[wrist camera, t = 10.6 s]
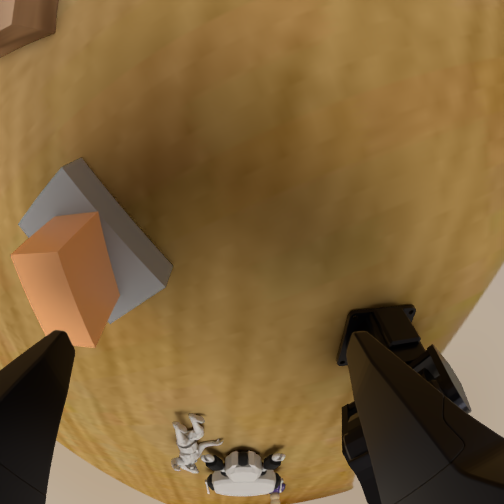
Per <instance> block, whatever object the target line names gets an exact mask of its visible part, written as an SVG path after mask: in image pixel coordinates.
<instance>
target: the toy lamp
mask: <svg viewBox="0 0 504 504" xmlns="http://www.w3.org/2000/svg"><path fill="white" fill-rule="evenodd" d="M284 489H285V484H283V483H282V488H281V492H282V491H283V490H284ZM279 490H280V485H279V486H278V488H277V489H274V491H273V492H271V493H269V494H271V495H270V498H271V504H280V501H279V498H280V496H279V493H280V491H279Z"/></svg>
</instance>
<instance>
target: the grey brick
mask: <svg viewBox="0 0 504 504" xmlns="http://www.w3.org/2000/svg"><path fill="white" fill-rule="evenodd" d="M89 212H98V213H99V217H100V222H101V226H102V231H103V235H104V239H105V243H106V247H107V251H108V255H109V259H110V262H111V266H112V270H113V273H114V277H115V280H116V283H117V287H118V290H119V293H120V296H119V298H118V301H117V303H116V305H115V307H114V309H113V311H112V313H111V315H110V317H109V319H108V322H109V323H110V324H111V323H112V322H114V321H115V320H117V319H118V318H120V317H121V316H123V315H124V314H126V313H127V312H129V311H130V310H132V309H133V308H135V307H136V306H138V305H139V304H141V303H142V302H144V301H145V300H147V299H148V298H150V297H151V296H153V295H155V294H156V293H158V292H159V291H161V290H162V289H164V288H165V287H166V285H167V282H168V279H169V276H170V273H171V270H172V268H173V265H172V264H171V263H170V262H169V261H168V260H167V259H166V258H165V257H164V255H163V254H162V253H161V252H160V251H159V250H158V249H157V248H156V247H155V245H154V244H153V243H152V242H151V241H150V240H149V239H148V238H147V236H146V235H145V234H144V233H143V232H142V231H141V229H140V228H139V227H138V226H137V225H136V224H135V223H134V221H133V220H132V219H131V218H130V217H129V216H128V214H127V213H126V212H125V211H124V210H123V208H122V207H121V206H120V205H119V204H118V202H117V201H116V200H115V199H114V198H113V196H112V195H111V194H110V193H109V192H108V190H107V189H106V188H105V187H104V185H103V184H102V183H101V182H100V180H99V179H98V178H97V177H96V176H95V174H94V173H93V172H92V170H91V169H90V168H89V167H88V165H87V164H86V163H85V162H84V160H83V159H82V158H79V159H77V160H75V161H73V162H71V163H69V164H67V165H65V166H63V167H61V168H60V170H59V171H58V172H57V173H56V174H55V176H54V177H53V178H52V179H51V181H50V182H49V183H48V184H47V186H46V187H45V188H44V189H43V191H42V192H41V193H40V195H39V196H38V197H37V199H36V200H35V201H34V203H33V204H32V205H31V207H30V208H29V210H28V211H27V212H26V214H25V215H24V217H23V218H22V219H21V221H20V222H19V224H18V225H19V226H20V227H21V229H22V230H23V231H24V232H25V234H26V235H27V236H28V237H29V238H30V237H31V236H32V235H33V234H34V233H35V232H36V231H38V230H39V229H40V228H41V227H42V226H44V225H45V224H46V223H47V222H48V221H50V220H51V219H52V218H53V217H55V216H62V215H71V214H79V213H89Z"/></svg>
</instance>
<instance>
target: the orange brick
mask: <svg viewBox="0 0 504 504" xmlns="http://www.w3.org/2000/svg"><path fill="white" fill-rule="evenodd" d="M11 258H12V261H13V263H14V266H15V269H16V271H17V274H18V276H19V279H20V281H21V284H22V286H23V288H24V291H25V293H26V295H27V298H28V300H29V302H30V304H31V307H32V309H33V311H34V313H35V315H36V317H37V319H38V321H39V323H40V325H41V327H42V329H43V331H44V333H45V335H46V336H47V335H48V334H50V333H51V332H52V331H54V330H61V331H65V332H66V333H67V334H68V336H69V339H70V341H71V343H72V345H73V346H82V347H93V348H95V347H96V345H97V343H98V341H99V338H100V336H101V334H102V332H103V330H104V328H105V325H106V323H107V321H108V319H109V317H110V315H111V313H112V311H113V309H114V307H115V305H116V303H117V301H118V298H119V296H120V293H119V290H118V287H117V283H116V280H115V277H114V273H113V270H112V266H111V262H110V259H109V255H108V251H107V247H106V243H105V239H104V235H103V231H102V226H101V222H100V217H99V213H98V212H89V213H79V214H71V215H62V216H55V217H53V218H52V219H51V220H50V221H48V222H47V223H46V224H45V225H44V226H42V227H41V228H40V229H39V230H38V231H36V232H35V233H34V234H33V235H32V236H31V237H30V238H28V239H27V240H26V241H25V242H24V243H23V244H22V245H21V246H19V247H18V248H17V249H16V250H15V251H14V252H13V253H12V254H11Z"/></svg>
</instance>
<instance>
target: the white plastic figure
mask: <svg viewBox="0 0 504 504" xmlns="http://www.w3.org/2000/svg"><path fill="white" fill-rule="evenodd" d="M189 418H190V420H191V422H192V425H193V428H194V430H191V431H187V428H186V427H185V426H184V425H182V424H180V423H179V422H177V421H174V422H173V426H174V428H175V432H176V438H177V440H176V442H177V446H178V448H179V450H180V455H179V457H178V458H173V459H172V461H171V463H172V467H173V469H174V470H175V471H181V470H180V467H181V468H182V469H184V470H187V471H190V472H192V473H199V471H198V469H197V467H196V465H195V464H194V463H195V462H197V460H196V459H198V458H199V457H200V455H201V453H202V451H203V450H204V449H205V447H208V446H214V445H217V446H218V445H220V444H222V443H223V441H222V442H220V441H219V439H218V440H217V441H216V442H215V441H206V442H202V443H200V444H199V445H198V444H197V442H196V440H198V439H200V438H201V437H203V435H204V431H203V427H202V426H200V425H199V423H204V422H205V420H204V418H203V417H202V416H198V415H195V414H189ZM198 422H199V423H198ZM177 464H178V465H179V466H177Z"/></svg>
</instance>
